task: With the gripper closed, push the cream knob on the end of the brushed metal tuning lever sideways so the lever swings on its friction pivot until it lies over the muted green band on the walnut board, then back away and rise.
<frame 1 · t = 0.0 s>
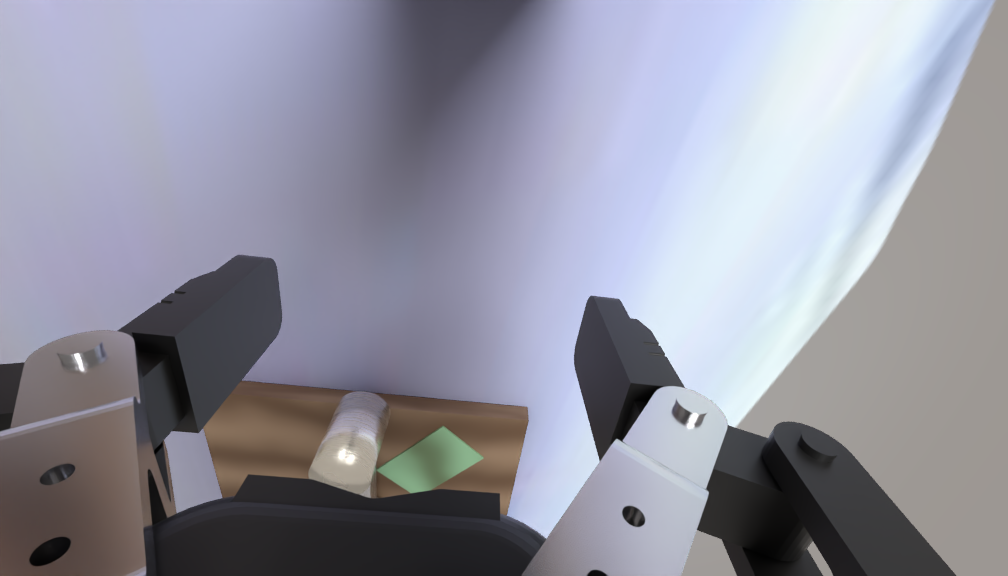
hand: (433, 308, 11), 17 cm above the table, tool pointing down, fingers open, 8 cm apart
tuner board: (371, 458, 39), on the table
tuning lever: (355, 493, 34), point 5 cm above the table, hinge at 0.0°
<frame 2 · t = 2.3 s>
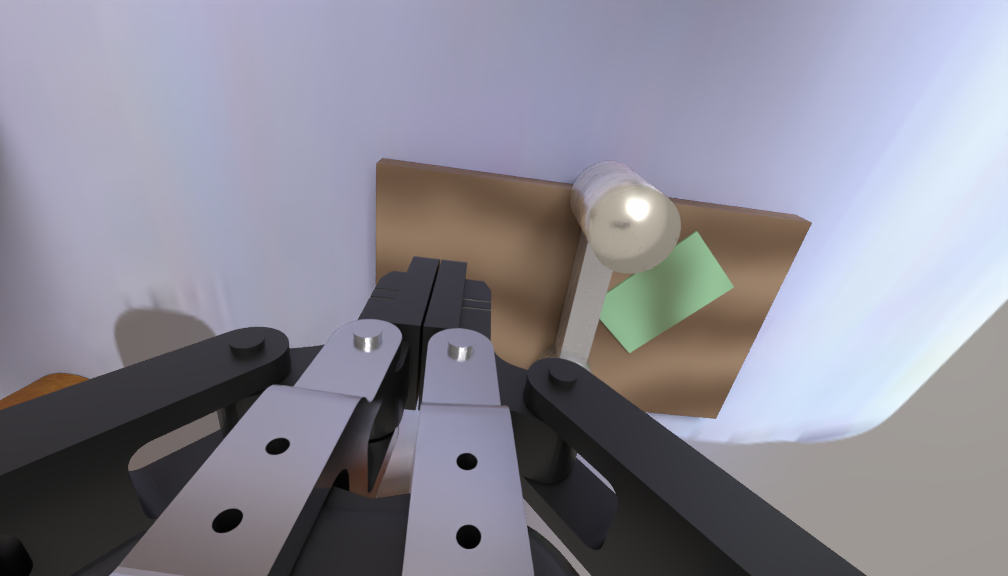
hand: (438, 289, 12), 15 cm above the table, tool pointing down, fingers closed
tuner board: (570, 300, 30), on the table
tuning lever: (591, 311, 25), point 5 cm above the table, hinge at 0.0°
disposable coffee cup: (82, 402, 34), on the table
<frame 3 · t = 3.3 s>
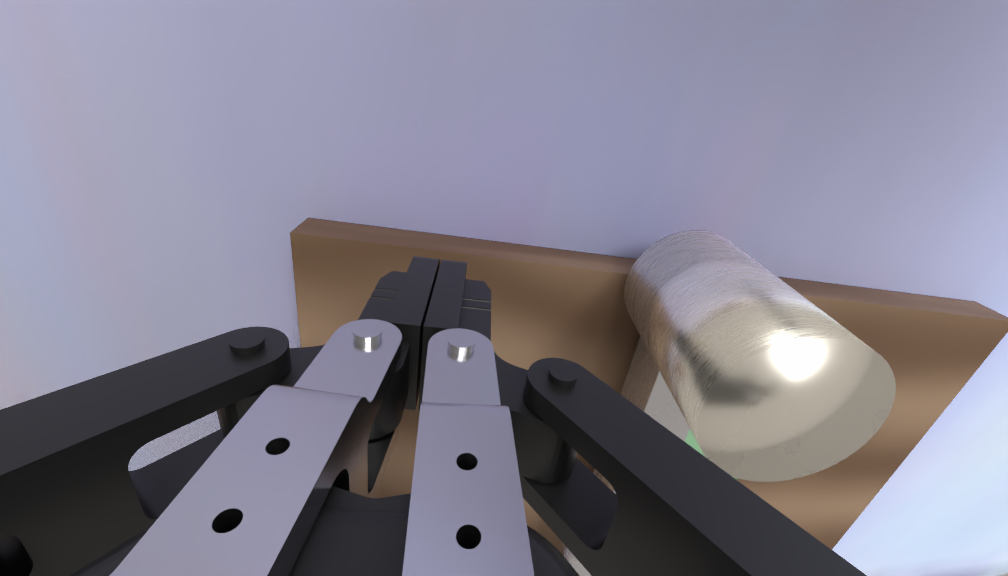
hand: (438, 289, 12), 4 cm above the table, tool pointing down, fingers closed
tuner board: (609, 419, 20), on the table
tuning lever: (660, 483, 14), point 5 cm above the table, hinge at 0.0°
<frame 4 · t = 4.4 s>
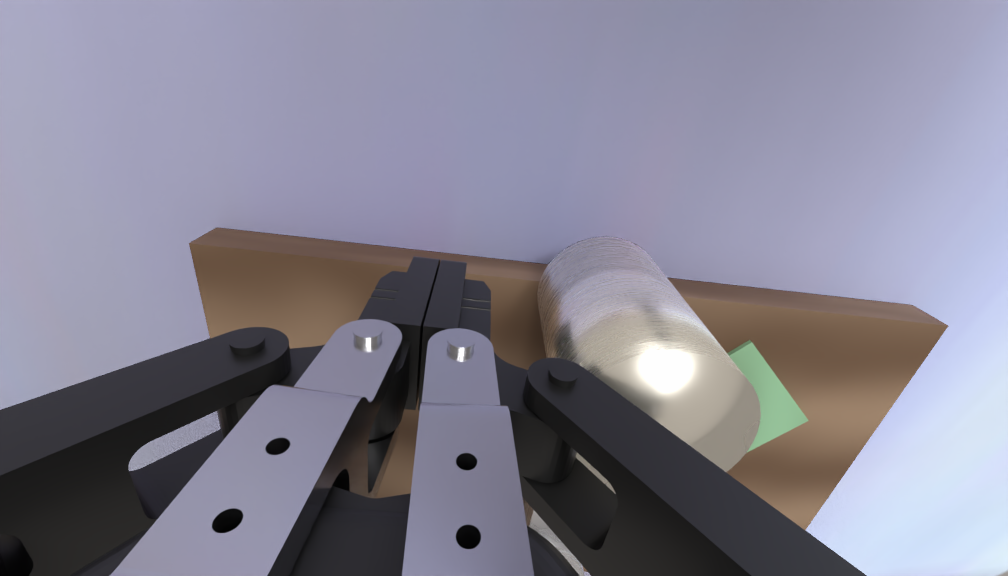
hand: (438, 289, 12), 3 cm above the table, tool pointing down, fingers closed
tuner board: (546, 428, 19), on the table
tuning lever: (574, 495, 14), point 5 cm above the table, hinge at -0.8°, touching gripper
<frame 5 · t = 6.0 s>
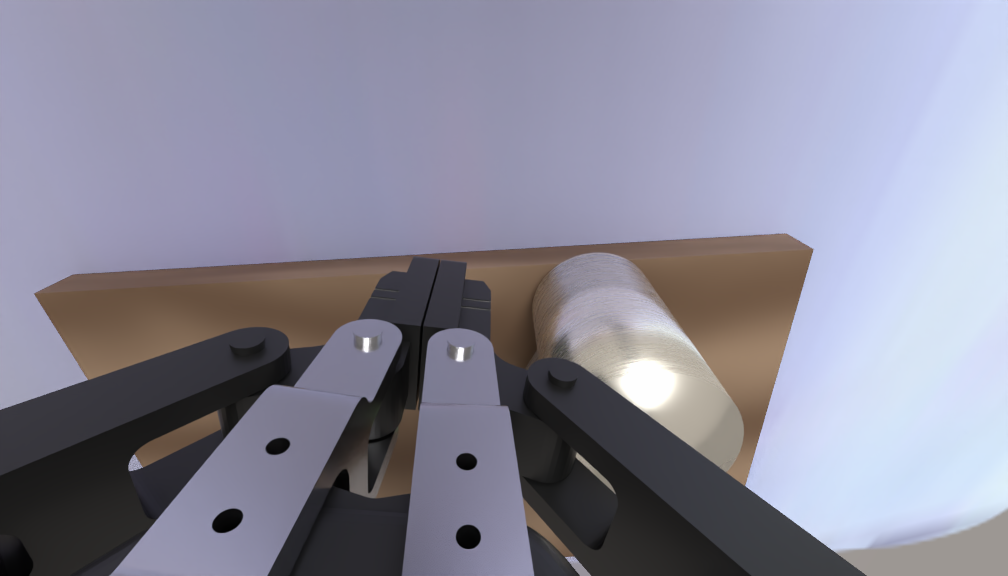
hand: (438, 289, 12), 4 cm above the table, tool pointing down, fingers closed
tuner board: (449, 419, 19), on the table
tuning lever: (517, 494, 14), point 5 cm above the table, hinge at -28.6°, touching gripper
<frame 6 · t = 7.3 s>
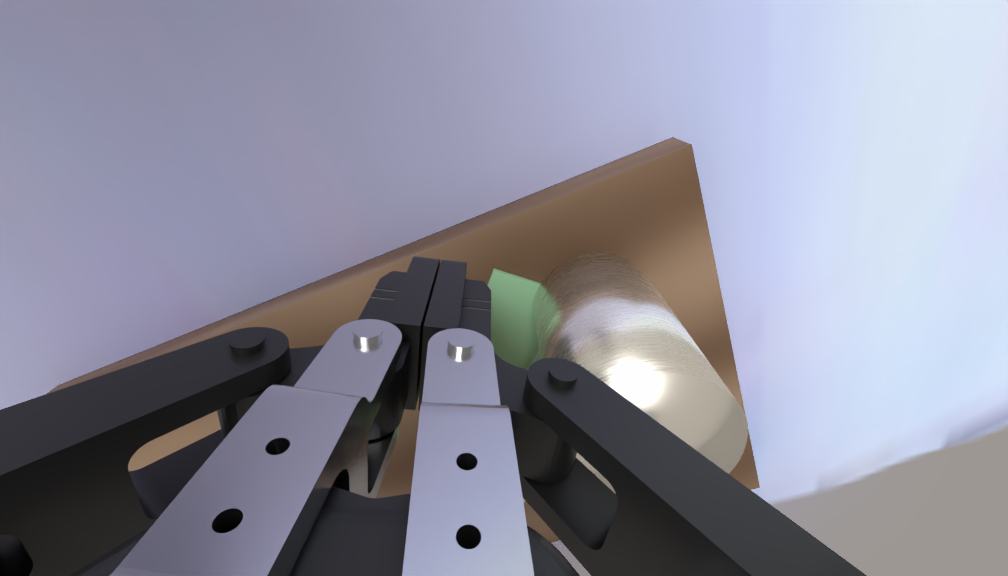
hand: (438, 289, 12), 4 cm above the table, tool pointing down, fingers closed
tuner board: (424, 425, 19), on the table
tuning lever: (521, 495, 14), point 5 cm above the table, hinge at -46.9°, touching gripper
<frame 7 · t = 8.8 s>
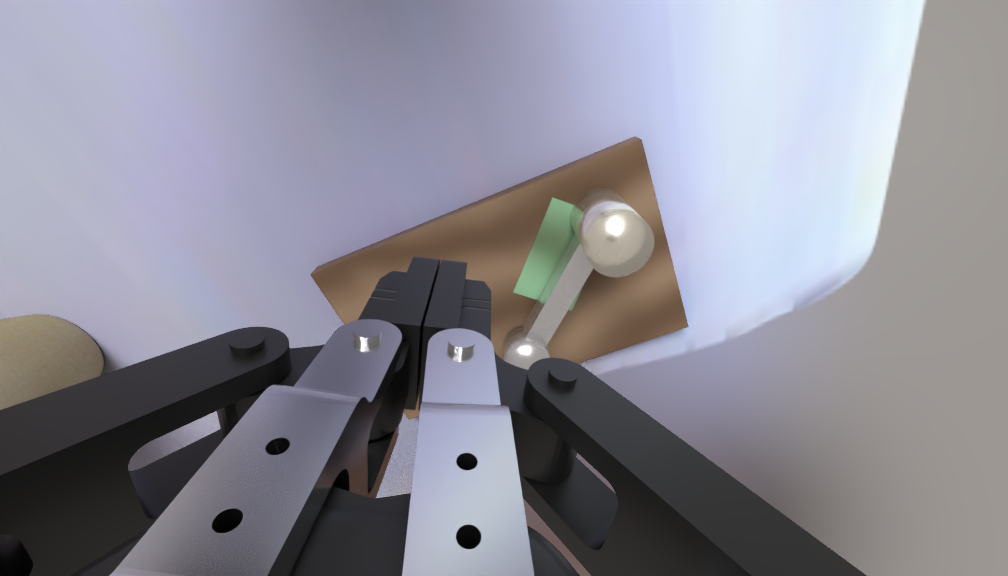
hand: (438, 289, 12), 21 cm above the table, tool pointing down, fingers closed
plant pot: (60, 346, 38), on the table
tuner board: (506, 293, 36), on the table
tuning lever: (565, 302, 30), point 5 cm above the table, hinge at -46.9°
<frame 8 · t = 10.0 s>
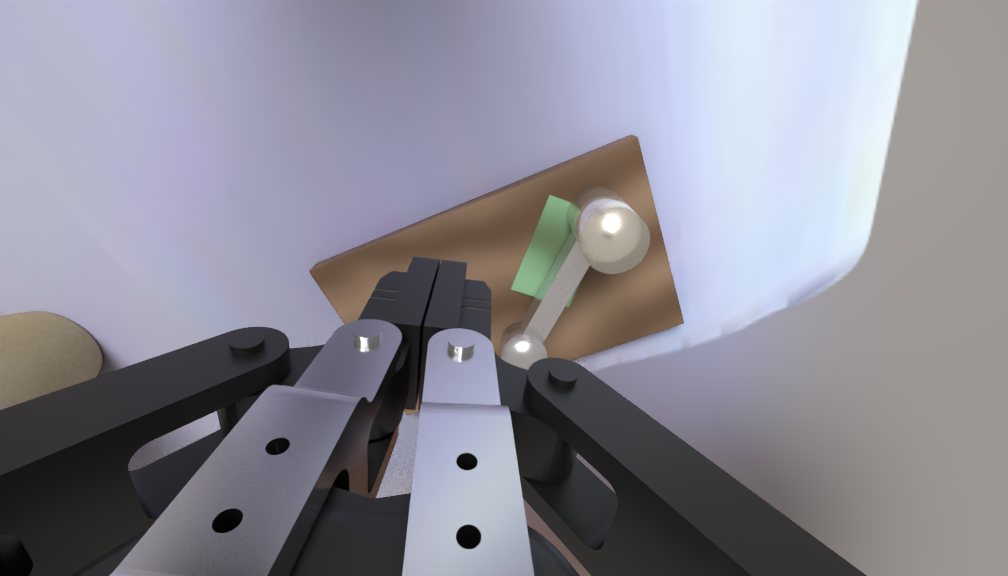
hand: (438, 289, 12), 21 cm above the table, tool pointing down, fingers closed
plant pot: (59, 343, 38), on the table
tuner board: (503, 289, 36), on the table
tuning lever: (562, 298, 31), point 5 cm above the table, hinge at -46.9°
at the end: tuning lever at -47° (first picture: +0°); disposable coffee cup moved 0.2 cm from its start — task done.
